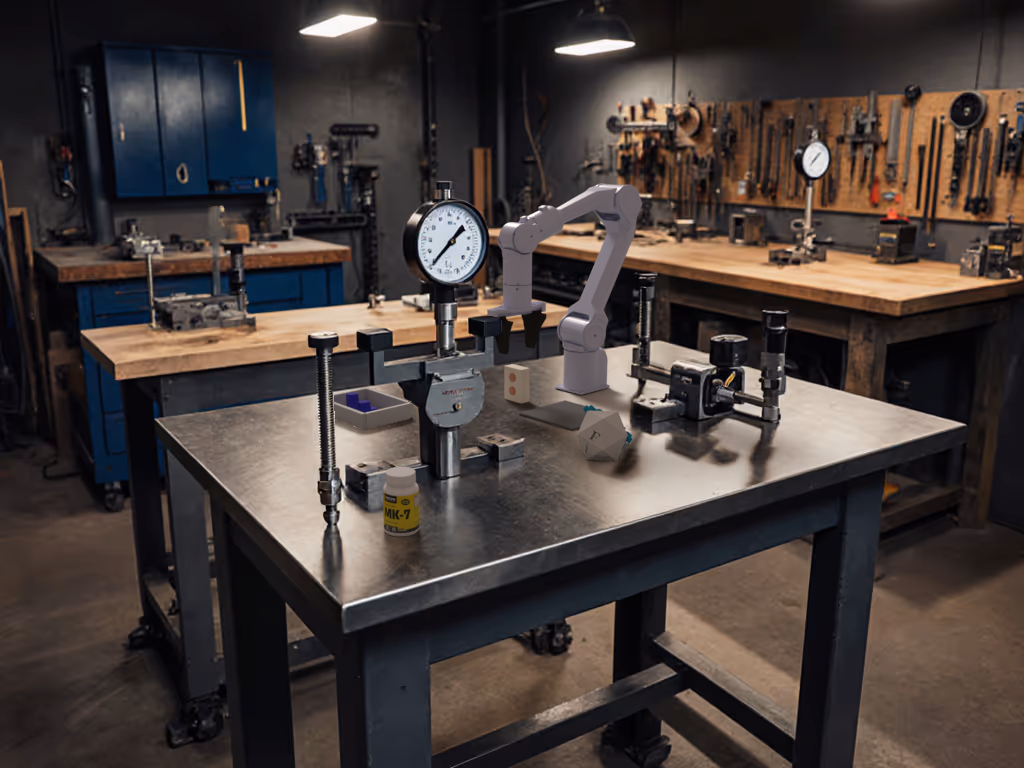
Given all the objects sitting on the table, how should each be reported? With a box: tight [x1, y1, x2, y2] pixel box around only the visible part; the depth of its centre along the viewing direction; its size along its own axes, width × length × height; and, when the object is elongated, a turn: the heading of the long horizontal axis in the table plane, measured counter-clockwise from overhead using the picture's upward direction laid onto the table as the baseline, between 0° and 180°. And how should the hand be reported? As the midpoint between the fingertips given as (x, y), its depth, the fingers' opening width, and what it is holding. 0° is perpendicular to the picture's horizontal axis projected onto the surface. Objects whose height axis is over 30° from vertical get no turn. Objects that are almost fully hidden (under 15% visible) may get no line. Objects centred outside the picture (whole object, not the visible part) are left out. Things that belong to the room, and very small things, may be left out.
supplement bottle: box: [382, 466, 420, 537], centre depth 117 cm, size 5×5×8 cm
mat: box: [518, 400, 586, 432], centre depth 170 cm, size 13×14×1 cm
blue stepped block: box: [346, 392, 379, 413], centre depth 169 cm, size 8×4×4 cm, turn 30°
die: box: [576, 410, 628, 462], centre depth 146 cm, size 8×9×10 cm
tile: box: [503, 363, 531, 404], centre depth 180 cm, size 3×5×7 cm, turn 43°
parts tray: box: [333, 387, 414, 431], centre depth 169 cm, size 12×16×3 cm
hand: (517, 350), depth 178 cm, fingers open, 7 cm apart
